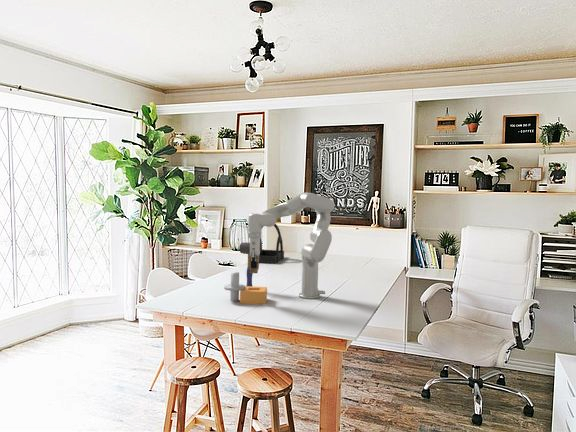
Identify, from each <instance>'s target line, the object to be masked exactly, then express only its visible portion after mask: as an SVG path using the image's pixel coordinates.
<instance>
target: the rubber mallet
mask: <svg viewBox="0 0 576 432" xmlns="http://www.w3.org/2000/svg"><path fill="white" fill-rule="evenodd" d="M238 250H239V253H240V254H244V255H247V268H246V285H245V286H251V287H253V274H254V273H250V270H249V257H250V242H241V243H240V244H239V247H238ZM260 250H261V247H260Z"/></svg>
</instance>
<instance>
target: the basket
mask: <svg viewBox="0 0 576 432" xmlns="http://www.w3.org/2000/svg"><path fill="white" fill-rule="evenodd" d="M264 227H265V226H262V229H263V228H264ZM273 227H274V228H275V229H276V232H277V235H278V236H277V240H276V246H275V247H276V249H263V241H262V240H263V239H262V237H261V238H260V247H261V250H260V254H259V264H261V265H262V264H265V265H276V264H278V263H279V262H280V261H282V260H283V259H284V257H285V250H284V246H283V239H282V235H281V230H280V228H279V226H278V225H277V223H275V225H274V226H273ZM279 247H280V248H279Z"/></svg>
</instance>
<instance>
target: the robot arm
mask: <svg viewBox="0 0 576 432" xmlns="http://www.w3.org/2000/svg"><path fill="white" fill-rule="evenodd" d="M306 208H311V209H313V210H314V211H315V213H316V220H315V223H314V225H313V228H312V230H311V232H310V234H309V239H310V240H311V242H313V243H314V244H313V243H307V244H305V245H304V246H303V247H302V248H301V262H302V264H301V265H302V267H301V268H302V269H301V270H302V272H301V292H300V293H299V294H298V297H300V298H302V299H308V300H309V299H310V300H311V299H319V298H321V295H326V291H325V290H320V289H319V286H318V285H319V263H321V262H322V261H324V259H325V257H326V255H327V253H328V250H329V248H330V246H331V243H332V239H333V235H332V233H331V231H330V230H329V227H330V224H331V220H332V218H331V212H333V211H334V209H335V202H334V201H333V200H332V199H331V198H329V197H325V196H322V195H319V194H316V193H313V192H306V191H305V192H302V193H300V194H298V195H296V196H294V197H292V198H290V199H288V200H286V201H284V202H281V203H280V204H278V205H274V206H272V207H270V208H268V209H266V210H264V211H263V212H261V213H249V215H248V227H247V230H248V231H247V238H248V239H249V243H250V255H251V268H257V261H256V256H254V255H257V256H259V254H260V238H261V239H262V230H263V228H262V226H264V227H266V228H267V227H268V228H270V227H274V225H275V224H277V219H280V218H285V217H289V216H290V217H291V216H293V215H295V214H296V213H297V212H300V211H302V210H303V209H306Z"/></svg>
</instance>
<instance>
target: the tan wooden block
mask: <svg viewBox="0 0 576 432" xmlns="http://www.w3.org/2000/svg"><path fill="white" fill-rule="evenodd" d="M254 256H256V261H257V268H251V255H250V257H249V270H250V273H253V274H258V272H259V268H260V267H259V266H260V263H259V256H257V255H254Z"/></svg>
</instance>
